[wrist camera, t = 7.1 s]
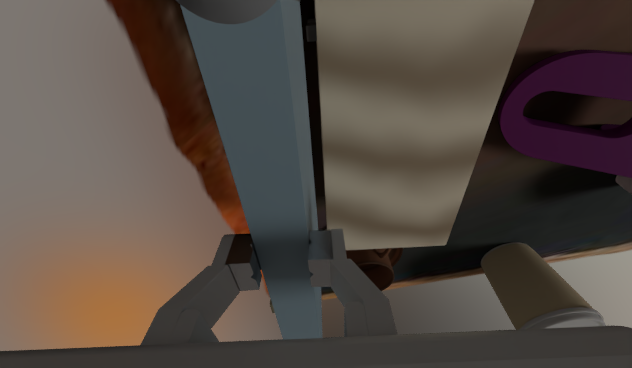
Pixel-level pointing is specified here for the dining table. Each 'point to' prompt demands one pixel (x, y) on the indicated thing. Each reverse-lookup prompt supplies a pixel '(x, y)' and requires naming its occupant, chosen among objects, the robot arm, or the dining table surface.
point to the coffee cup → (535, 290)
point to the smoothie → (624, 183)
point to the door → (265, 139)
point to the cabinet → (407, 109)
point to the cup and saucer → (377, 264)
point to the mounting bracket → (566, 140)
